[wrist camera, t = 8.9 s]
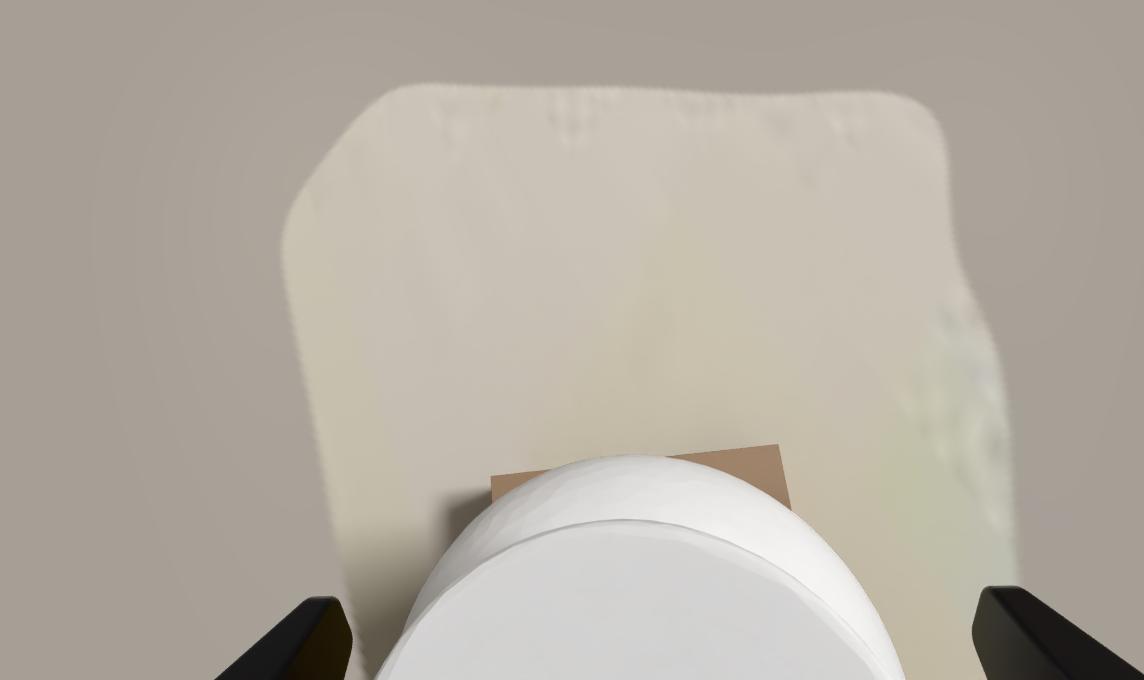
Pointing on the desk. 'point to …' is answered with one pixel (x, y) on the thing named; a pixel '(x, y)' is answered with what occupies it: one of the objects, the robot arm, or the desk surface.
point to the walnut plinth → (742, 463)
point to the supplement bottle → (640, 586)
